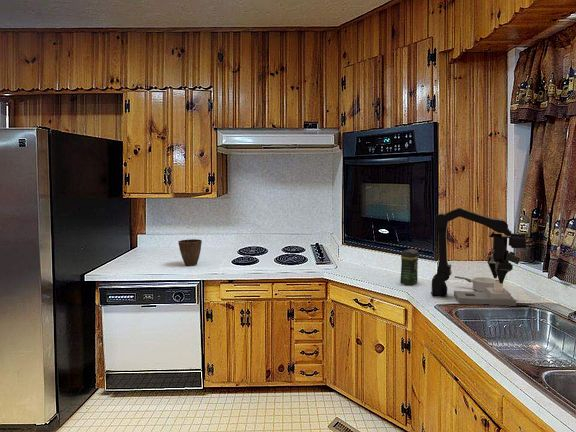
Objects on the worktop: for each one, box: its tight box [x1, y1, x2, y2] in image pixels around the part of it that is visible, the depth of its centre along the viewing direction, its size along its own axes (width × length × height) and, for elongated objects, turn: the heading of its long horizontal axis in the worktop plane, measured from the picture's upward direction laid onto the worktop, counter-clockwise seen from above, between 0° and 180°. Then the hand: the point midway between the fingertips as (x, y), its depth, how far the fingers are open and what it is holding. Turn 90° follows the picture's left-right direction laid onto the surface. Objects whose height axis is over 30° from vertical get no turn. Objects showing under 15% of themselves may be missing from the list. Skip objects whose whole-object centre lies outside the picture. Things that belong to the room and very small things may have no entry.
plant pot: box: [177, 238, 203, 267], centre depth 276 cm, size 15×15×16 cm
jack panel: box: [453, 288, 517, 307], centre depth 195 cm, size 24×12×5 cm, turn 79°
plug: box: [494, 279, 504, 292], centre depth 194 cm, size 3×3×8 cm
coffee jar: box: [399, 248, 419, 286], centre depth 226 cm, size 10×8×19 cm
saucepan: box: [454, 275, 496, 292], centre depth 215 cm, size 12×20×6 cm, turn 58°
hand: (498, 280), depth 193 cm, fingers open, 9 cm apart
